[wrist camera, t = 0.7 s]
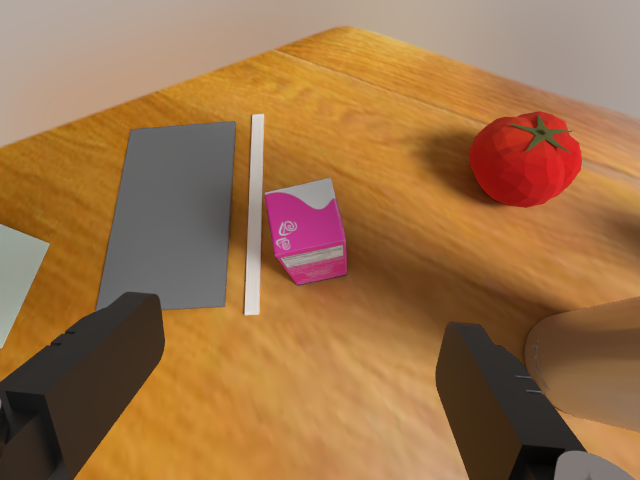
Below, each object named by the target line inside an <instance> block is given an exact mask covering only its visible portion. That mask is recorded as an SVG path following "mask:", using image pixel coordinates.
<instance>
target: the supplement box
mask: <svg viewBox="0 0 640 480" xmlns="http://www.w3.org/2000/svg"><path fill="white" fill-rule="evenodd" d="M265 201H266V207H267V213H268V219H269V225H270V231H271V237H272V243H273V249H274V255H275V257H276V258H277V259H278V260H279V262H280V263H281V264H282V266H283V267H284V268H285V270H286V271H287V272H288V274H289V275H290V276H291V278H292V279H293V280H294V282H295V283H296V284H297V285H303V284H307V283H312V282H317V281H322V280H326V279H331V278H336V277H340V276H344V275H347V258H346V237H345V232H344V228H343V224H342V220H341V215H340V212H339V208H338V204H337V200H336V196H335V192H334V188H333V184H332V181H331V178H326V179H322V180H318V181H314V182H310V183H306V184H301V185H297V186H292V187H288V188H283V189H279V190H274V191H270V192H266V193H265Z"/></svg>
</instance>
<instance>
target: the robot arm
mask: <svg viewBox="0 0 640 480" xmlns="http://www.w3.org/2000/svg"><path fill="white" fill-rule="evenodd" d="M164 346H165V337H164V329H163V320H162V311H161V303H160V299H159V297H158V295H156V294H151V293H140V292H125V293H124V294H122V295H121V296H120V297H119V298H117V299H116V300H115V301H114V302H112V303H111V304H110V305H109V306H108V307H106V308H102V309H100V310H98V311H96V312H94V313H92V314H89V315H87V316H85V317H83V318H82V319H80V320H79V321H78V322H76V323H75V324H74V325H73V326H71V327H70V328H69V329H67V330H66V331H65V334H61V335H60V336H59V337H57V338H56V339H55V340H53V341H52V342H51V345H50V346H46V347H45V348H43V349H42V350H41V351H39V352H38V353H37V354H36V355H34V356H33V357H32V358H30V359H29V360H28V361H27V362H25V363H24V364H23V365H22V366H20V367H19V368H18V369H16V370H15V371H14V372H13V373H11V374H10V375H9V376H7V377H6V378H5V379H4V380H2V381H1V382H0V480H73V479H74V478H75V477H76V475H77V474H78V473H79V471H80V470H81V468H82V467H83V466H84V464H85V463H86V462H87V460H88V459H89V457H90V456H91V455H92V453H93V452H94V451H95V449H96V448H97V447H98V445H99V444H100V442H101V441H102V440H103V438H104V437H105V436H106V434H107V433H108V432H109V430H110V429H111V427H112V426H113V425H114V423H115V422H116V421H117V419H118V418H119V417H120V415H121V414H122V412H123V411H124V410H125V408H126V407H127V406H128V404H129V403H130V401H131V400H132V399H133V397H134V396H135V395H136V393H137V392H138V391H139V389H140V388H141V386H142V385H143V384H144V382H145V381H146V380H147V378H148V377H149V376H150V374H151V373H152V371H153V370H154V369H155V367H156V366H157V365H158V363H159V361H160V360H161V357H162V355H163V351H164ZM524 357H525V364H526V368H527V370H526V369H525V367H524V366H523V365H522V363H521V362H520V361H519V360H518V359H517V358H516V357H515V356H513V355H512V354H511V353H510V352H508V351H507V350H506V349H505V348H503V347H502V346H501V345H494V343H493V342H492V340H491V339H490V337H489V336H488V335H487V333H486V332H485V330H484V329H483V327H482V326H481V325H479V324H471V323H460V322H449V323H448V324H447V326H446V329H445V333H444V337H443V341H442V345H441V349H440V354H439V358H438V362H437V366H436V387H437V391H438V394H439V397H440V399H441V402H442V405H443V408H444V410H445V413H446V416H447V419H448V421H449V424H450V427H451V430H452V433H453V435H454V438H455V441H456V444H457V446H458V449H459V452H460V455H461V457H462V460H463V463H464V466H465V469H466V471H467V474H468V477H469V480H635V479H634V478H633V477H632V476H630V475H629V474H628V473H627V472H625V471H624V470H622V469H621V468H619V467H618V466H616V465H614V464H613V463H611V462H609V461H607V460H605V459H603V458H601V457H599V456H596V455H594V454H591V453H588V452H587V451H586V450H585V448H584V447H583V446H582V444H581V443H580V441H579V440H578V439H577V437H576V436H575V435H574V433H573V432H572V431H571V429H570V428H569V427H568V425H567V424H566V423H565V421H564V420H563V419H562V417H561V416H560V415H559V413H558V412H557V411H556V409H555V408H554V406H555V407H556V408H558V409H560V410H561V411H563V412H565V413H567V414H570V415H573V416H575V417H579V418H583V419H587V420H591V421H595V422H600V423H604V424H607V425H611V426H615V427H619V428H623V429H627V430H631V431H636V432H640V297H635V298H631V299H626V300H621V301H617V302H612V303H607V304H603V305H598V306H593V307H589V308H583V309H578V310H574V311H569V312H565V313H560V314H556V315H552V316H548V317H546V318H544V319H542V320H541V321H539V322H538V323H537V324H536V325H535V326H534V327H533V328H532V329H531V331H530V333H529V334H528V337H527V340H526V343H525V351H524Z"/></svg>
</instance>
